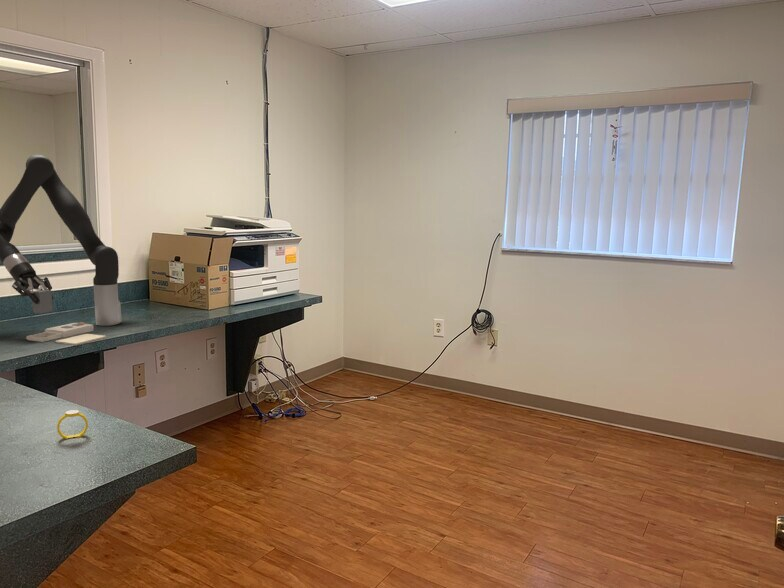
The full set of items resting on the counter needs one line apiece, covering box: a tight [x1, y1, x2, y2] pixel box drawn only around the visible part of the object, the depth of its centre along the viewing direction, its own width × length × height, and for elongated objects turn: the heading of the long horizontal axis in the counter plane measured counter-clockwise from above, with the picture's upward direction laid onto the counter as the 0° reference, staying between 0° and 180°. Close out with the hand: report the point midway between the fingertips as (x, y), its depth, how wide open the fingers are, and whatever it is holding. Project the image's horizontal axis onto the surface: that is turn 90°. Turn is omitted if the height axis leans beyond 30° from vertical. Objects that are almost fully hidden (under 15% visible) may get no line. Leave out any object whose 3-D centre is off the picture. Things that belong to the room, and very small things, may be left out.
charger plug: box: [31, 289, 54, 314], centre depth 225 cm, size 5×4×8 cm
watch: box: [56, 409, 89, 440], centre depth 133 cm, size 6×3×6 cm, turn 119°
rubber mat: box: [55, 333, 107, 346], centre depth 226 cm, size 14×10×1 cm
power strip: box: [26, 321, 94, 343], centre depth 233 cm, size 22×10×3 cm, turn 159°
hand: (44, 301), depth 225 cm, fingers closed on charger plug, 5 cm apart
